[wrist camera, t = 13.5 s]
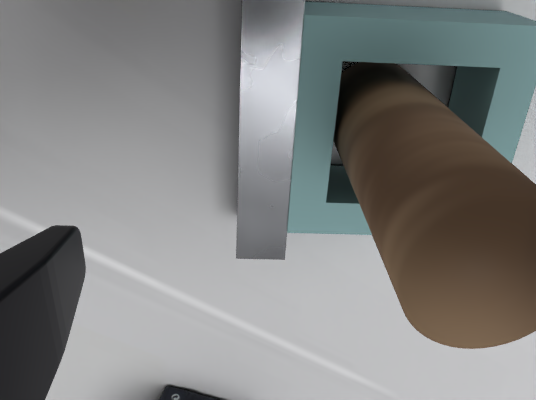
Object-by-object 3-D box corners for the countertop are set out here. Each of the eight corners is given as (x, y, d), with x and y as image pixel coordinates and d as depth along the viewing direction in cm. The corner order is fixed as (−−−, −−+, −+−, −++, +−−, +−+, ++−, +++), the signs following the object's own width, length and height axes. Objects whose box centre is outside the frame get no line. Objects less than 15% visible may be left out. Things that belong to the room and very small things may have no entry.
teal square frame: (282, 191, 23) (287, 232, 20) (295, 0, 19) (304, 15, 16) (457, 197, 23) (488, 237, 20) (505, 11, 19) (553, 26, 16)
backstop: (238, 215, 24) (236, 258, 21) (244, -43, 18) (243, -37, 15) (280, 216, 24) (284, 259, 21) (298, -40, 19) (307, -34, 15)
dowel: (379, 166, 23) (495, 370, 12) (306, 123, 22) (362, 307, 11) (437, 91, 21) (628, 250, 10) (361, 40, 20) (487, 161, 9)
